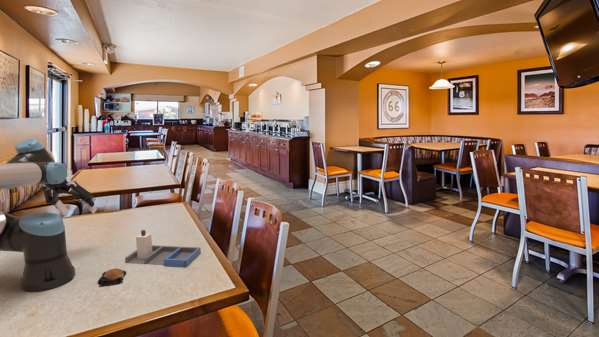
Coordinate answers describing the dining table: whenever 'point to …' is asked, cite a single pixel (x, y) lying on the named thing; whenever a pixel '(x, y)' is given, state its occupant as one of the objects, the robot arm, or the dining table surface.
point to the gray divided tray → (166, 256)
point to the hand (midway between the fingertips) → (80, 212)
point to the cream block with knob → (143, 245)
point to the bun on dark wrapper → (111, 277)
